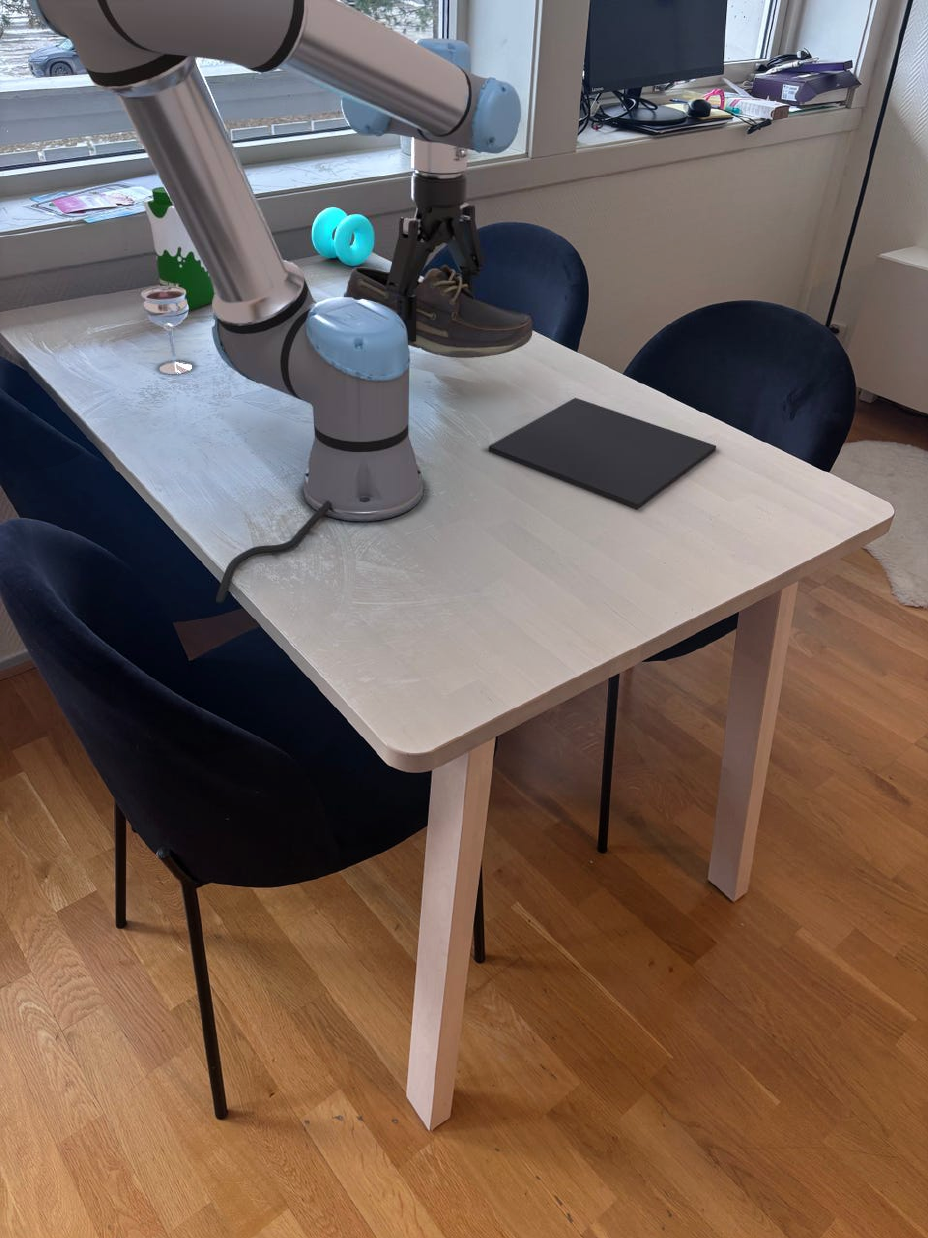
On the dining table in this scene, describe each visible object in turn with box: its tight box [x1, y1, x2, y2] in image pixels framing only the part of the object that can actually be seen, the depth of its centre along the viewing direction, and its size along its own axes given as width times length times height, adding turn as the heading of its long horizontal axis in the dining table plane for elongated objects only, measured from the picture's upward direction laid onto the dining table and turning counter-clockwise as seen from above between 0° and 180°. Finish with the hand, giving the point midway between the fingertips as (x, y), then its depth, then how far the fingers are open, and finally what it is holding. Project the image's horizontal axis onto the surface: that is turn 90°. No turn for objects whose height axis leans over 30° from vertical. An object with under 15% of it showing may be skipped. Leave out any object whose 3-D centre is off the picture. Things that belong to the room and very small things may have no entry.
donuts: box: [311, 207, 375, 267], centre depth 197 cm, size 10×10×10 cm
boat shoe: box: [343, 264, 534, 359], centre depth 140 cm, size 11×29×11 cm, turn 78°
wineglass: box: [140, 285, 192, 375], centre depth 150 cm, size 7×7×12 cm
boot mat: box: [488, 397, 717, 510], centre depth 135 cm, size 22×24×1 cm
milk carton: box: [142, 186, 215, 312], centre depth 172 cm, size 9×9×20 cm
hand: (435, 328), depth 142 cm, fingers closed on boat shoe, 12 cm apart
